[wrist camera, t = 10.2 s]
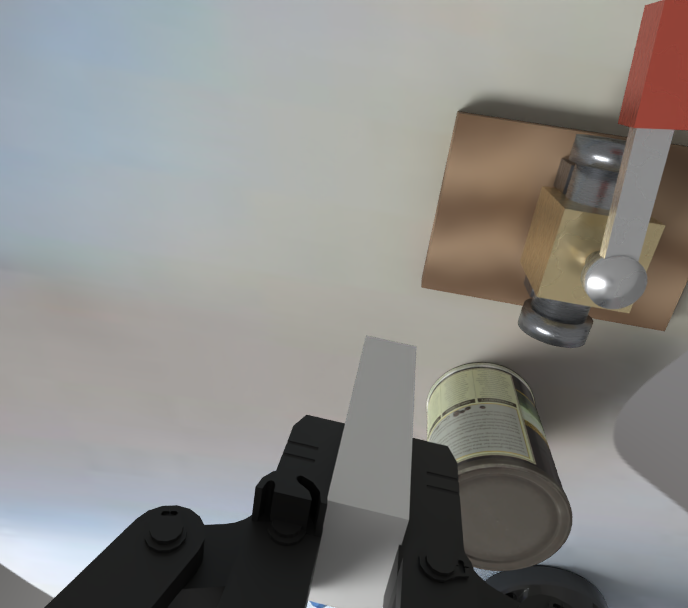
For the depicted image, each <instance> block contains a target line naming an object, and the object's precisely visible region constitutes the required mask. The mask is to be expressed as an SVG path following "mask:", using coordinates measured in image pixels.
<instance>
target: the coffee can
mask: <svg viewBox="0 0 688 608" xmlns="http://www.w3.org/2000/svg"><path fill="white" fill-rule="evenodd" d="M426 410H427V441H428V442H433V443H437V444H441V445H446V446H448V447H449V449H450V451H451V452H452V454H453V456H454V458H455V459H456V461H457V465H458V478H459V479H458V482H459V491H460V493H459V496H460V504H461V517H462V530H463V543H464V550H465V554H466V556H467V557H468V558H469V560H470V561H471V562H472V566H473V567H475V568H479V569H484V570H491V571H510V570H517V569H522V568H526V567H530V566H533V565H536V564H538V563H540V562H543V561H544V560H546V559H548V558H549V557H551V556H552V555H553V554H555V553H556V552H557V551H558V550H559V549H560V548H561V547H562V545H563V544H564V543H565V542H566V540H567V538H568V536H569V533H570V531H571V527H572V510H571V507H570V504H569V501H568V498H567V496H566V494H565V492H564V490H563V488H562V485H561V482H560V479H559V476H558V473H557V470H556V467H555V464H554V461H553V458H552V455H551V452H550V449H549V446H548V443H547V440H546V437H545V434H544V430H543V427H542V424H541V421H540V418H539V415H538V412H537V409H536V406H535V400H534V397H533V394H532V391H531V389H530V388H529V386H528V385H527V383H526V382H525V381H524V380H523V379H522V378H521V377H520V376H519V375H517V374H516V373H515V372H513V371H511V370H510V369H508V368H505V367H503V366H499V365H496V364H490V363H471V364H465V365H462V366H459V367H457V368H454V369H452V370H450V371H449V372H447V373H445V374H444V375H443V376H442V377H440V378H439V379H438V380H437V382H436V383H435V384H434V385H433V386H432V388H431V391H430V393H429V395H428V398H427V404H426Z"/></svg>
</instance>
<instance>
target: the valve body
mask: <svg viewBox="0 0 688 608" xmlns="http://www.w3.org/2000/svg"><path fill="white" fill-rule="evenodd" d="M625 145H626V141H625V140H620V139H614V138H608V137H601V136H594V135H586V134H576V137H575V140H574V143H573V146H572V150H571V153H570V156H569V160H568V159H562V158H561V161H560V165H559V168H558V171H557V174H556V178H555V181H554V184H553V186H554V187H555V188H552V187H546V186H542V189H541V192H540V195H539V199H538V202H537V206H536V209H535V212H534V216H533V219H532V222H531V226H530V229H529V233H528V236H527V239H526V243H525V246H524V249H523V253H522V256H521V259H520V263H521V265H522V267H523V269H524V272H525V274H526V276H525V279H524V282H523V283H524V285H525V287H526V290H527V292H528V294H529V296H530V297H532V298H529V299H527V300H525V301H524V304H523V307H522V310H521V313H520V316H519V320H518V325H519V327H520V328H521V329H522V331H524V332H525V333H526V334H528V335H529V336H531V337H533V338H535V339H537V340H539V341H541V342H544V343H547V344H550V345H554V346H559V347H566V348H575V347H580V346H583V345H584V344H585V342H586V340H587V337H588V335H589V332H590V329H591V327H592V324H593V320H592V318H591V317H590V316H589V315H588V313H589V311H590V308H591V307H596V308H601V309H606V308H602V307H600V306H598V305H596V304H595V303H594V302H593V301H592V300H591V299H590V297H589V296H588V294H587V293H586V292H585V290H584V289H583V287H582V284H581V272H582V269H583V267H584V265H585V264H586V262H587V261H588V260H589V259H590V258H591V257H593V256H594V255H596V254H597V253H600V249H601V245H602V241H603V237H604V233H605V228H606V224H607V220H608V216H609V212H610V208H611V203H612V199H613V195H614V191H615V187H616V183H617V178H618V174H619V170H620V166H621V162H622V157H623V153H624V149H625ZM664 228H665V225H664V224H663V223H661V222H659V221H658V220H656V219H655V218H653V217H652V216H651V217H650V221H649V225H648V228H647V232H646V236H645V239H644V243H643V246H642V250H641V254H640V257H639V261H638V262H639V263H640V264H641V265H642V266H643V267H644V269H645V271H646V272H647V269H648V267H649V264H650V262H651V259H652V257H653V255H654V252H655V250H656V247H657V245H658V242H659V240H660V238H661V235H662V233H663V230H664ZM632 306H633V304H631V305H629V306H627V307H624V308H620V309H607V310H613V311H618V312H624V313H630V310H631V308H632Z"/></svg>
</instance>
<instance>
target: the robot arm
mask: <svg viewBox="0 0 688 608" xmlns="http://www.w3.org/2000/svg"><path fill="white" fill-rule="evenodd" d="M415 366H416V346H412V345H408V344H403V343H399V342H394V341H389V340H385V339H380V338H376V337H371V336H367V335H366V338H365V342H364V347H363V351H362V355H361V359H360V363H359V368H358V372H357V376H356V380H355V384H354V388H353V393H352V397H351V401H350V405H349V409H348V414H347V418H346V422H345V424H344V423H340V422H336V421H331V420H327V419H323V418H319V417H314V416H310V415H306V416H305V417H303V418H302V419H301V420H300V421H299V422H297V423H296V424H295V425H294V426H293V428H292V431H291V434H290V436H289V439H288V442H287V444H286V447H285V449H284V452H283V455H282V457H281V460H280V462H279V465H278V467H277V470H276V471H273V472H271V473H270V474H268V475H266V476H264V477H263V478H262V479H261V480H260V482H259V483H258V484H257V486H256V488H255V496H254V504H253V512H252V515H251V516H250V517H248V518H246V519H244V520H241V521H238V522H236V523H229V524H215V525H204V524H203V522H202V520H201V518H200V516H198V515H197V514H196V513H195V512H193V511H192V510H191V509H188V508H184V507H181V506H177V505H176V506H161V507H158V508H155V509H152V510H149V511H147V512H146V513H144V514H143V515H141V516H140V517H138V518H137V519H136V520H135V521H134V522H133V523H132V524H131V525H130V526H128V527H127V528H126V529H125V530H124V531H123V532H122V533H121V534H120V535H119V536H118V537H117V538H116V539H115V540H114V541H113V542H112V543H111V544H110V545H109V546H108V547H107V548H106V549H105V550H104V551H103V552H102V553H100V554H99V555H98V556H97V557H96V558H95V559H94V560H93V561H92V562H91V563H90V564H89V565H88V566H87V567H86V568H85V569H84V570H83V571H82V572H81V573H80V574H79V575H78V576H77V577H76V578H75V579H74V580H73V581H71V582H70V583H69V584H68V585H67V586H66V587H65V588H64V589H63V590H62V591H61V592H60V593H59V594H58V595H57V596H56V597H55V598H54V599H53V600H52V601H51V602H50V603H49V604H48V605H47V606H46V607H45V608H306V607H307V603H308V601H312V602H316V603H320V604H324V605H328V606H331V607H335V608H607V605H606V602H605V600H604V598H603V596H602V594H601V593H600V592H599V591H598V589H597V588H596V587H595V586H593V585H592V584H591V583H590V582H588V581H587V580H585V579H584V578H582V577H580V576H578V575H576V574H574V573H571V572H568V571H565V570H562V569H558V568H553V567H545V566H530V567H526V568H522V569H517V570H510V571H503V572H500V573H498V574H496V575H494V576H492V577H490V578H489V579H487V580H486V581H484V580H483V579H482V578H481V577H479V576H478V575H477V573H476V572H475V571H474V569H473V566H472V562H471V561H470V560H469V558H468V557H467V556H466V554H465V550H464V543H463V530H462V517H461V504H460V496H459V493H460V491H459V482H458V479H459V478H458V465H457V461H456V459H455V458H454V456H453V454H452V452H451V451H450V449H449V447H448V446H446V445H441V444H437V443H433V442H428V441H424V440H420V439H415V438H412V437H413V413H414V390H415Z"/></svg>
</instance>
